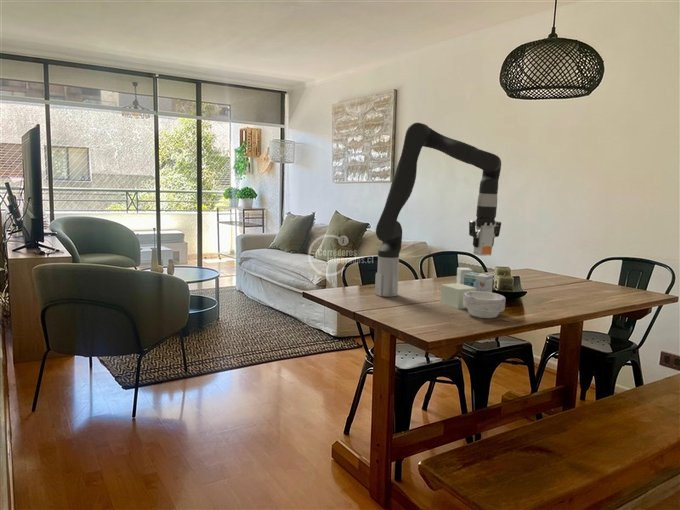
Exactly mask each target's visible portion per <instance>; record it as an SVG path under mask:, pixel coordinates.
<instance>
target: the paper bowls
mask: <svg viewBox="0 0 680 510" xmlns="http://www.w3.org/2000/svg"><path fill="white" fill-rule="evenodd" d="M506 301H507V300H506V297H505V296H504V295H502V294H499V293H496V292H492V293H491V292H482V291H470V292H466V293H464V299H463V306H464V307H465V308H464V309H467V311H468V314H469V315H470V316H472V317H475V318H479V319H493V318H497V317H498V316H499V315H500V313H502V312H504V311H505V309H506V308H505V307H506Z"/></svg>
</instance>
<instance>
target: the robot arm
mask: <svg viewBox="0 0 680 510" xmlns="http://www.w3.org/2000/svg"><path fill="white" fill-rule="evenodd" d="M423 147H425V148H429V149H433V150H436V151H439V152H441V153H443V154H445V155H447V156H449V157H450V158H453V159H455V160H457V161H459V162H463V163H464V164H468V165H471V166H473V167H475V168H478V169H480V170H482V172H481V173H482V174H481V175H482V177H481V179H480V183H479V191H478V196H477V205H476V212H475V213H476V215H475V216H476V220H469V222H468V228H469V229H468V230H469V231H468V236H469V237H470V236H471V237H472V239H473V240H472V246H473V248H474V247H478V244H479V236H480V233H481V232H482V228H481V229H480V230H477V229H476V225H477V227H479V228H480V227H481V225H482V226H494V235H493V244H492V248H493V247H494V244H495V243H494V242H495V238H497V237H500V232H501V227H502V222H501V221H496V220H495V218H496V217H497V209H498V190H499V179H500V176H501V170H502V159H501V157H500V156H498V155H496V154H494V153H491V152H488V151H485V150H483V149H479V148H478V147H476V146H473V145H471V144H468V143H466V142H464V141H460V140H457V139H453V138H451V137H448V136H446V135H444V134H441V133H440V132H437V131H436V130H434V129H433V128H430V127H429V126H428V125H427V124H425V123H421V122H414V123H411V124H410V125H409V126H407V129H406V132H405V136H404V140H403V146H402V150H401V153H400V154H401V155H400V157H399V160H398V163H397V165H396V168H395V172H394V175H393V177H392V181H391V184H390V188H389V192H388V194H387V197H386V198H387V199H386V202H385V205H384V208H383V210H382V212H381V215H380V217H379V220H378V221H377V225H376V227H375V235H376V238H377V239H378V240H379V241H381V242H382V244H381V245H380V246H381V247H380V248H379V249H378V251H377V272H375V280H374V282H375V284H374V287H375V288H374V294H375V295H377V296H379V297H387V298H389V297H390V298H391V297H397V296H398V294H399V293H398V291H399V288H398V287H399V265H400V263H399V262H400V252H401V250H402V242H403V229H402V224H401V223H400V222H399V221H398V217H399V215H400V213H401V210H402V209H403V208H404V206H405V205H406V204H407V202H408V200H409V198H410V197H411V194H412V192H413V189H414V186H415V184H416V179H417V170H418V169H417V167H418V160H419V156H420V154H421V152H422V151H421V150H422V148H423ZM477 232H478V233H477Z"/></svg>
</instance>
